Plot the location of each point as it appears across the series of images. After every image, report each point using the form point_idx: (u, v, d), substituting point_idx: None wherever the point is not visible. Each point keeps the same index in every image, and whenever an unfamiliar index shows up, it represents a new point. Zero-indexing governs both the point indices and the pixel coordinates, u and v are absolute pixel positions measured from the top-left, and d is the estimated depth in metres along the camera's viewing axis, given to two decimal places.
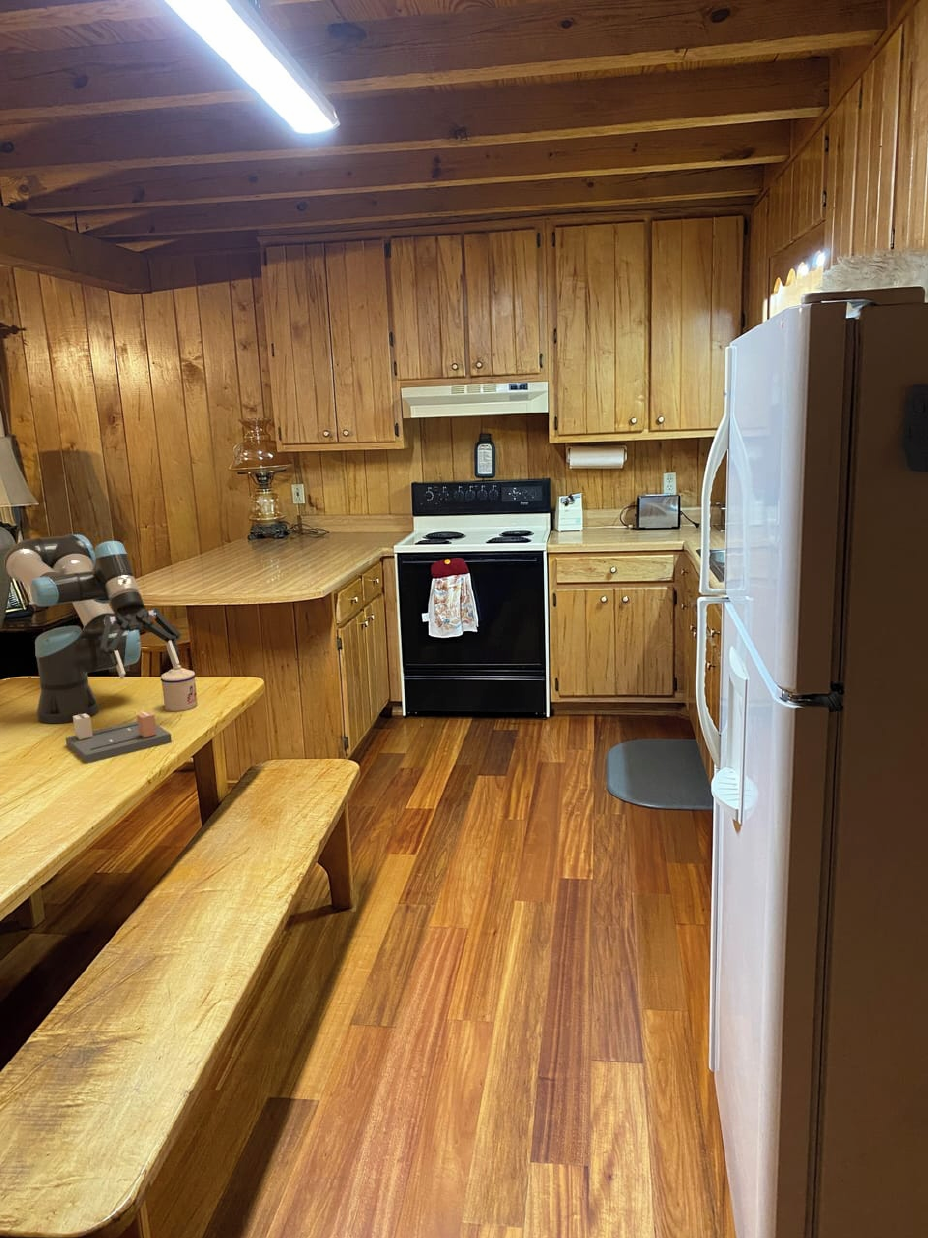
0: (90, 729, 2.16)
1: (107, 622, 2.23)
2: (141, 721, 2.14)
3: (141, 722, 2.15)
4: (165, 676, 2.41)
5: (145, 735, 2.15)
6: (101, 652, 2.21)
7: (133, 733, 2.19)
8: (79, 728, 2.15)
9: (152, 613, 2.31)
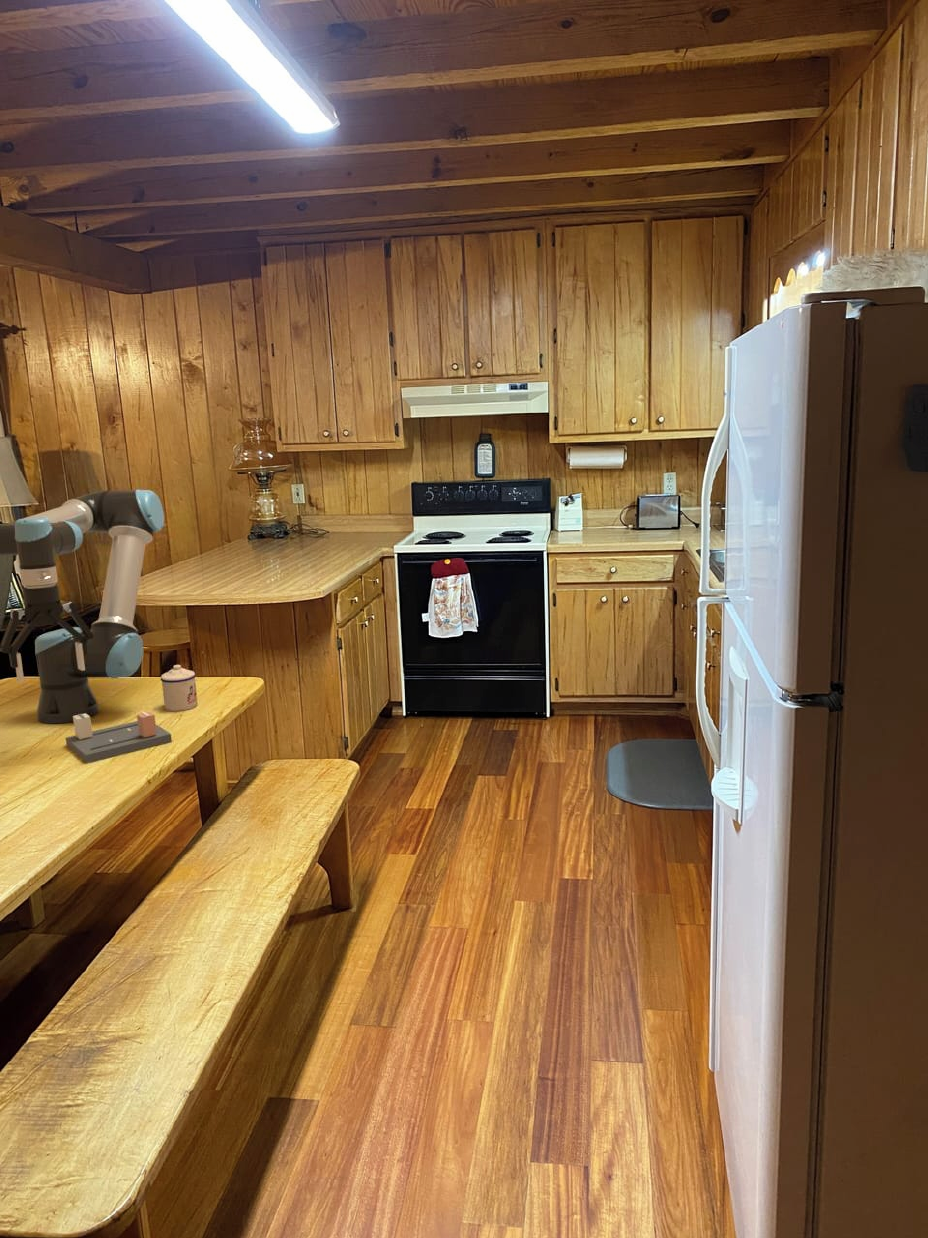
0: (90, 729, 2.16)
1: (14, 619, 2.02)
2: (141, 721, 2.14)
3: (141, 722, 2.15)
4: (165, 676, 2.41)
5: (145, 735, 2.15)
6: (1, 651, 2.03)
7: (133, 733, 2.19)
8: (79, 728, 2.15)
9: (67, 608, 2.10)
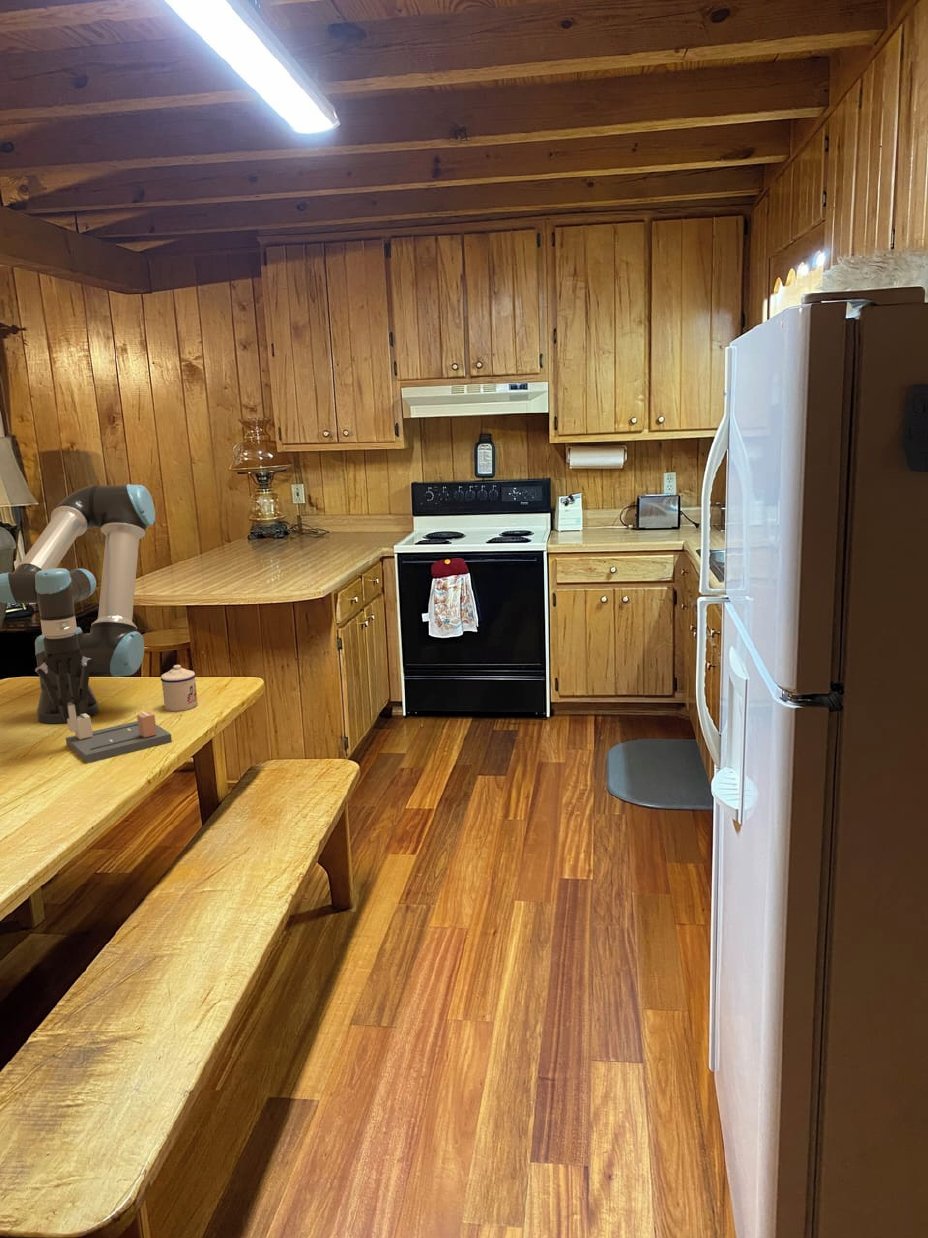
0: (90, 729, 2.16)
1: (43, 676, 2.08)
2: (141, 721, 2.14)
3: (141, 722, 2.15)
4: (165, 676, 2.41)
5: (145, 735, 2.15)
6: None
7: (133, 733, 2.19)
8: (79, 728, 2.15)
9: (84, 661, 2.14)
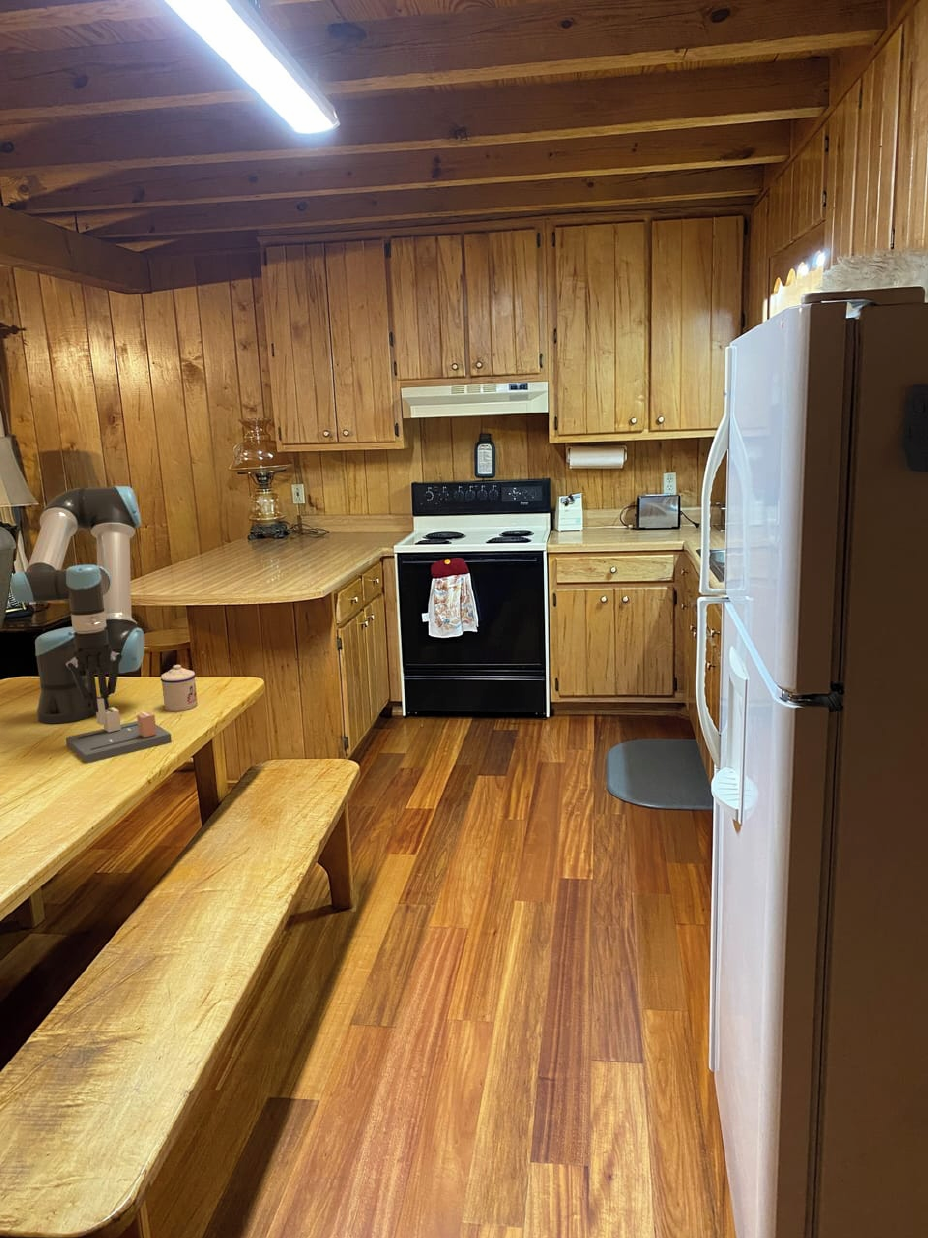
0: (118, 722, 2.20)
1: (74, 670, 2.12)
2: (141, 721, 2.14)
3: (141, 722, 2.15)
4: (165, 676, 2.41)
5: (145, 735, 2.15)
6: None
7: (133, 733, 2.19)
8: (108, 721, 2.19)
9: (113, 656, 2.18)
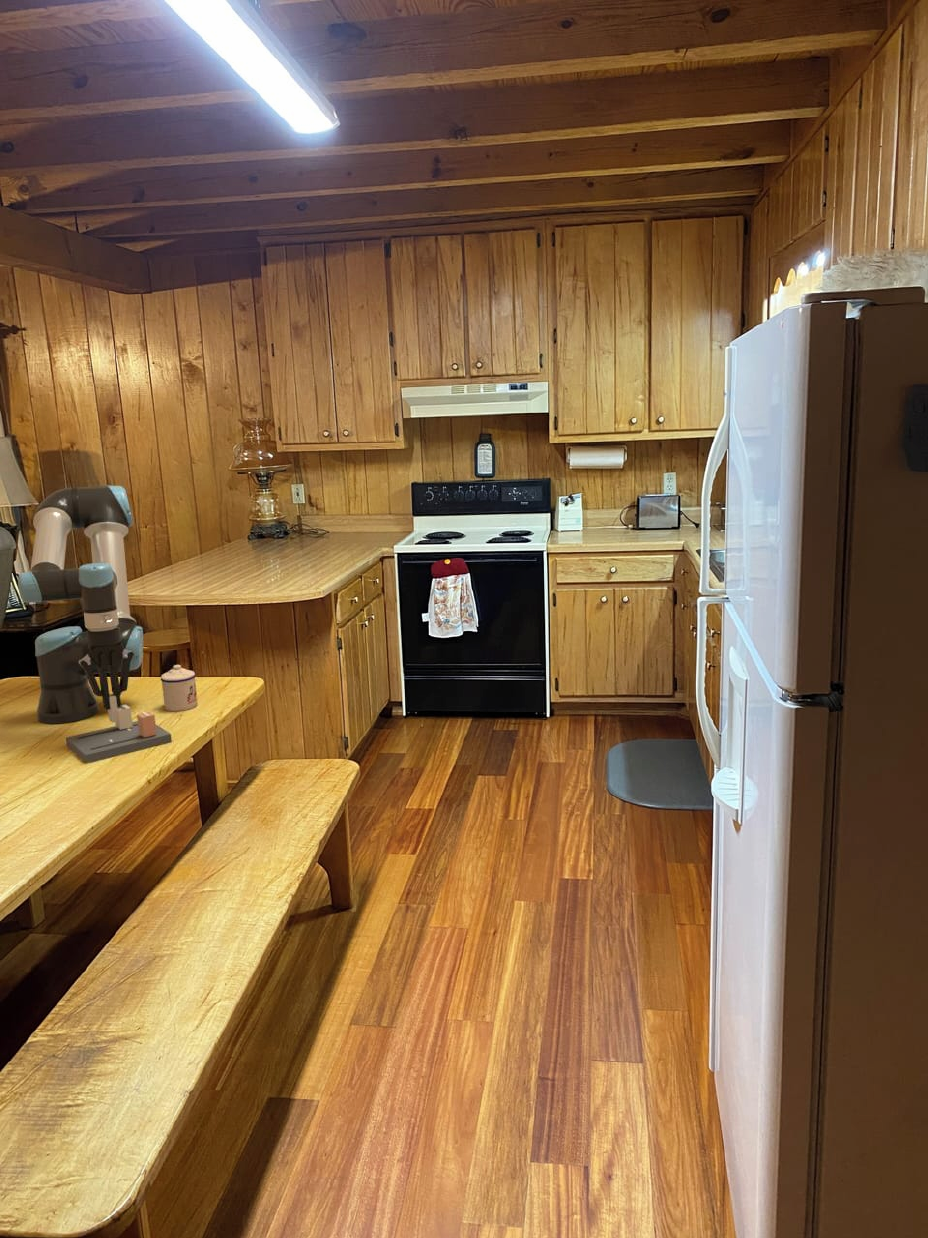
0: (130, 720, 2.22)
1: (86, 668, 2.14)
2: (141, 721, 2.14)
3: (141, 722, 2.15)
4: (165, 676, 2.41)
5: (145, 735, 2.15)
6: None
7: (133, 733, 2.19)
8: (120, 719, 2.21)
9: (125, 653, 2.20)
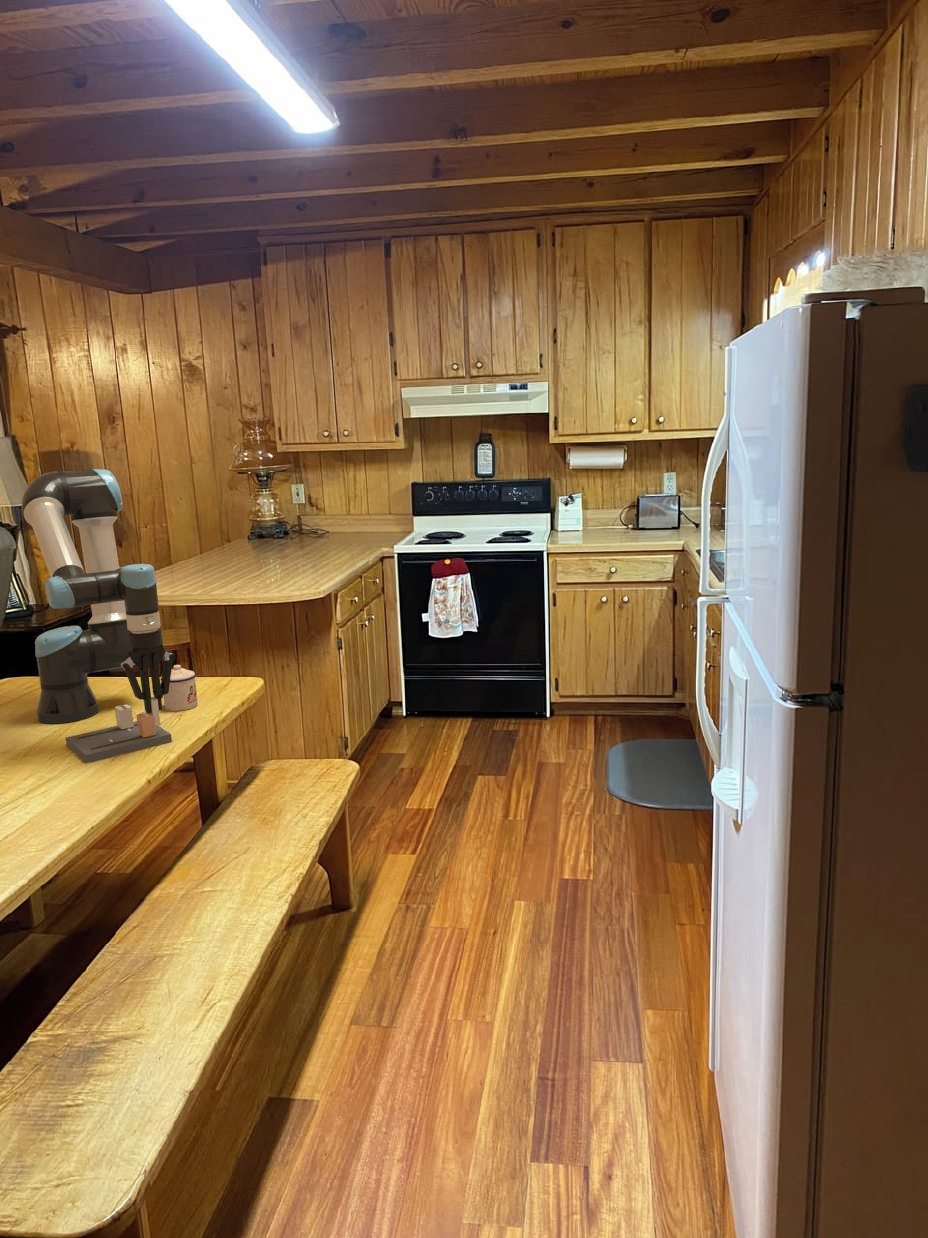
0: (131, 719, 2.22)
1: (129, 671, 2.11)
2: (141, 721, 2.14)
3: (140, 722, 2.15)
4: None
5: (144, 735, 2.15)
6: None
7: (133, 733, 2.19)
8: (121, 718, 2.21)
9: (167, 656, 2.17)
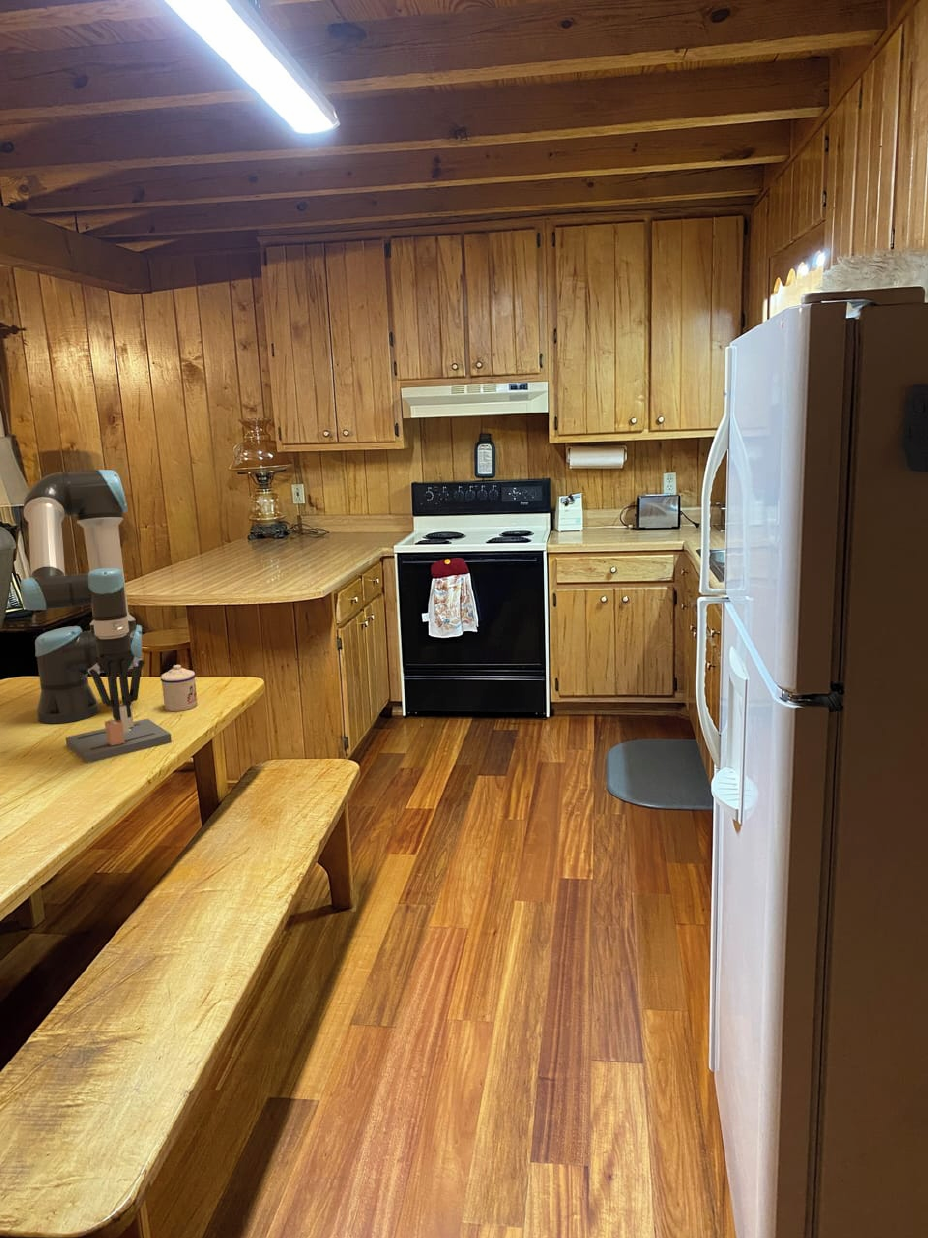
0: (131, 719, 2.22)
1: (96, 677, 2.06)
2: (109, 729, 2.10)
3: (108, 730, 2.10)
4: (165, 676, 2.41)
5: (113, 743, 2.10)
6: None
7: (133, 733, 2.19)
8: None
9: (136, 662, 2.12)
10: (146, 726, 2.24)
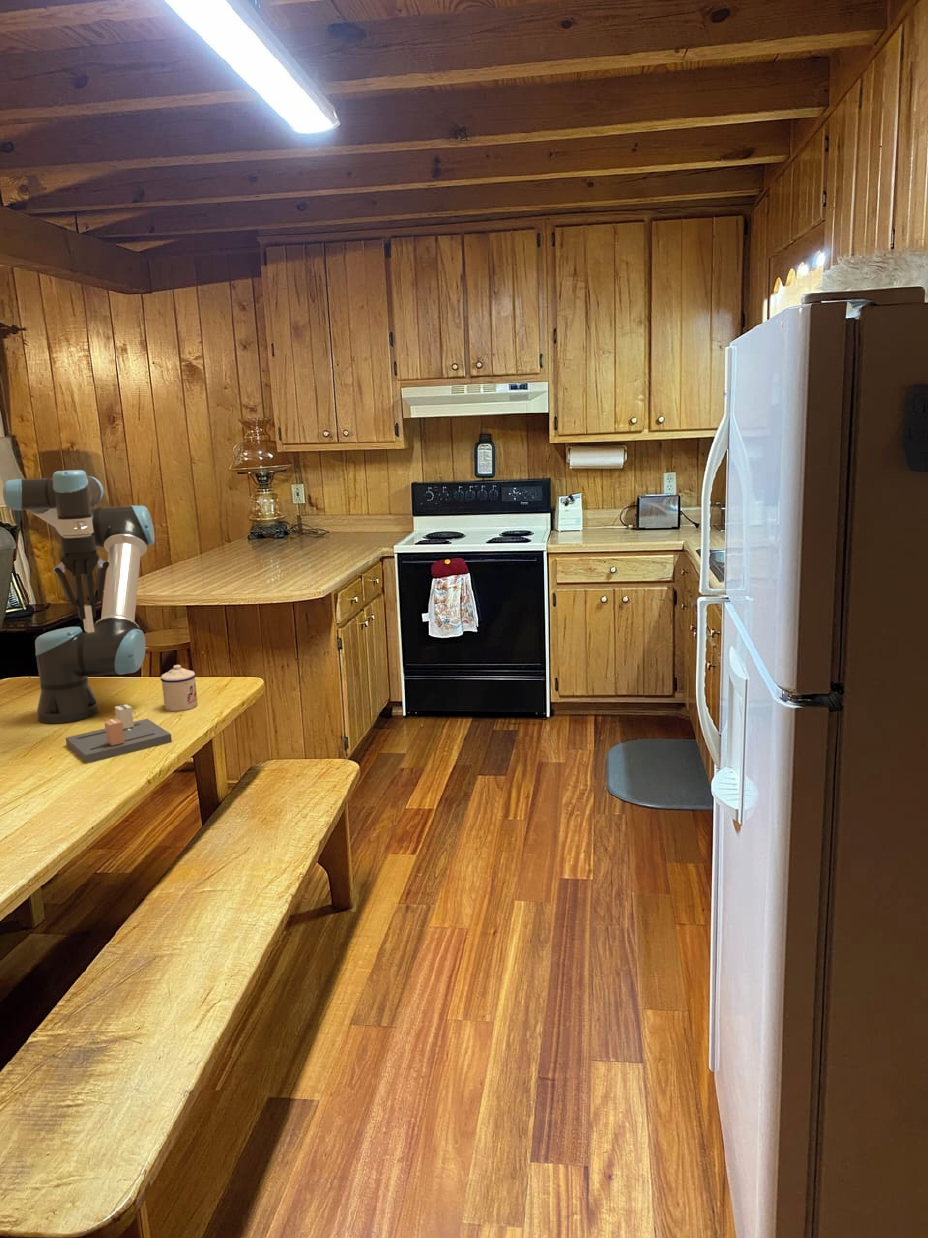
0: (131, 719, 2.22)
1: (61, 575, 2.13)
2: (109, 729, 2.10)
3: (108, 730, 2.10)
4: (165, 676, 2.41)
5: (112, 743, 2.10)
6: None
7: (133, 733, 2.19)
8: (121, 718, 2.21)
9: (100, 563, 2.19)
10: (146, 726, 2.24)
